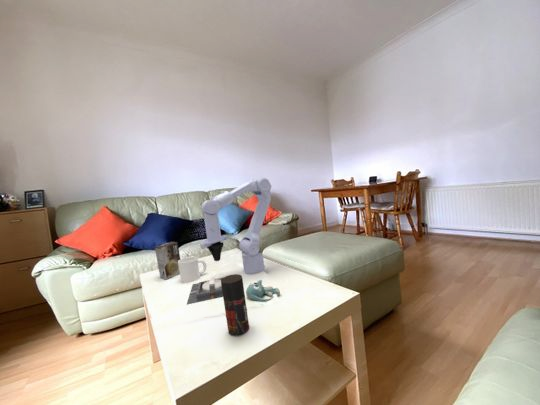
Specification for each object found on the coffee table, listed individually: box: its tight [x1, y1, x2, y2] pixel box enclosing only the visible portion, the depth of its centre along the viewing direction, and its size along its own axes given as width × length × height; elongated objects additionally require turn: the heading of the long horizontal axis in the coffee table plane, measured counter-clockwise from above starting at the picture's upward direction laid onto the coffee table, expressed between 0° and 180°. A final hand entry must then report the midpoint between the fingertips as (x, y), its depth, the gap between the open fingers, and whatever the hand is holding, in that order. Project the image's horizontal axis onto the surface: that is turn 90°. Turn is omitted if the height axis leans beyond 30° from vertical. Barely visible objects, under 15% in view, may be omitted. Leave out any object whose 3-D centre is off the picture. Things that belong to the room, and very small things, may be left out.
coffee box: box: [154, 241, 182, 281], centre depth 119 cm, size 9×6×16 cm
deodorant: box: [221, 274, 250, 337], centre depth 67 cm, size 6×6×15 cm
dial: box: [202, 277, 222, 292], centre depth 92 cm, size 11×8×4 cm
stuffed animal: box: [245, 279, 281, 302], centre depth 84 cm, size 11×7×12 cm
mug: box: [178, 255, 207, 284], centre depth 109 cm, size 12×8×10 cm
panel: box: [186, 276, 225, 306], centre depth 94 cm, size 18×18×3 cm
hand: (217, 260), depth 99 cm, fingers closed
